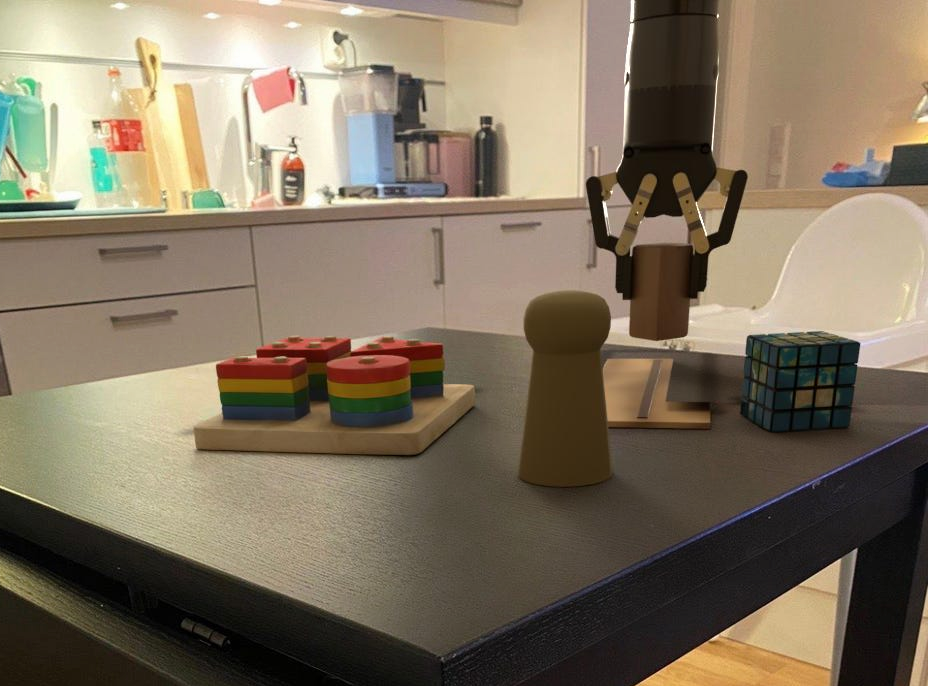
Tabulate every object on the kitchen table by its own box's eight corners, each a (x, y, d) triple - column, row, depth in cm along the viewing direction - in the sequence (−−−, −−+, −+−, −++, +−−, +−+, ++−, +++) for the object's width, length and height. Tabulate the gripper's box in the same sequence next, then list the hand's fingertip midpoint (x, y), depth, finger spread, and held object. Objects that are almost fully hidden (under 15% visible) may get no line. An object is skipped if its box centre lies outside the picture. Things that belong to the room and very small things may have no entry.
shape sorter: (288, 401, 87) (280, 330, 84) (477, 404, 82) (475, 330, 80) (193, 449, 71) (180, 365, 69) (418, 456, 67) (414, 366, 65)
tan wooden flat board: (709, 363, 96) (710, 357, 96) (710, 429, 71) (710, 421, 71) (607, 363, 98) (607, 357, 98) (574, 426, 74) (574, 418, 73)
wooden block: (689, 337, 89) (695, 243, 85) (655, 342, 87) (660, 246, 84) (660, 333, 92) (664, 242, 89) (627, 337, 90) (630, 245, 87)
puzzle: (739, 415, 75) (746, 334, 73) (813, 410, 76) (823, 330, 73) (770, 432, 70) (778, 346, 67) (850, 427, 70) (862, 341, 68)
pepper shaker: (498, 476, 62) (495, 294, 57) (555, 456, 66) (557, 285, 61) (575, 492, 58) (579, 299, 54) (631, 470, 62) (639, 288, 57)
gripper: (758, 83, 83) (740, 293, 90) (589, 93, 86) (585, 295, 93) (762, 75, 76) (743, 302, 83) (579, 87, 79) (575, 304, 86)
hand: (659, 297), depth 88 cm, fingers closed on wooden block, 5 cm apart
